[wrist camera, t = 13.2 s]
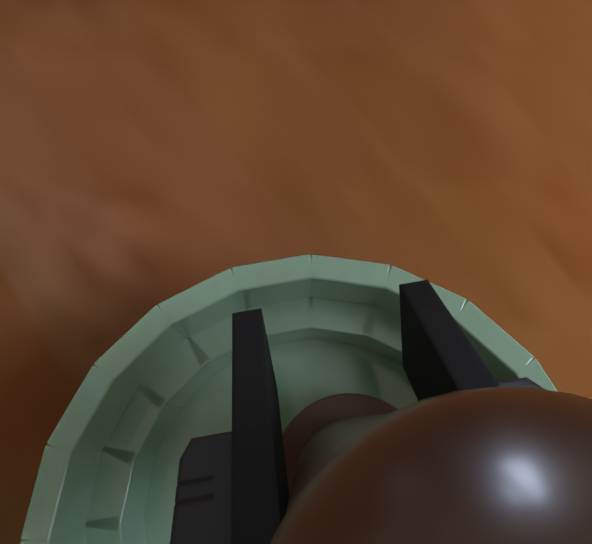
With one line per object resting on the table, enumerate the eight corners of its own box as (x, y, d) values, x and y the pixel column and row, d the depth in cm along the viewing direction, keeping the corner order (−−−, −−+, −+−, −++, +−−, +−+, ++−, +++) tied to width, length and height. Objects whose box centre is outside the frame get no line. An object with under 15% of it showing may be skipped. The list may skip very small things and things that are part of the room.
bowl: (116, 813, 17) (26, 996, 11) (88, 333, 21) (14, 303, 16) (592, 719, 17) (720, 854, 12) (467, 268, 21) (519, 217, 16)
